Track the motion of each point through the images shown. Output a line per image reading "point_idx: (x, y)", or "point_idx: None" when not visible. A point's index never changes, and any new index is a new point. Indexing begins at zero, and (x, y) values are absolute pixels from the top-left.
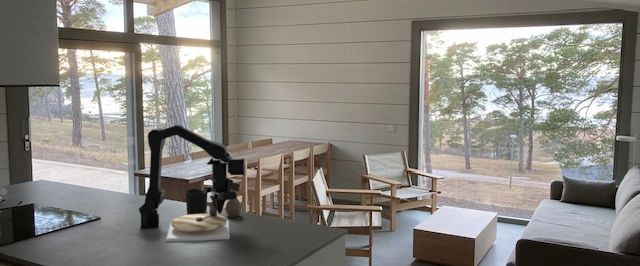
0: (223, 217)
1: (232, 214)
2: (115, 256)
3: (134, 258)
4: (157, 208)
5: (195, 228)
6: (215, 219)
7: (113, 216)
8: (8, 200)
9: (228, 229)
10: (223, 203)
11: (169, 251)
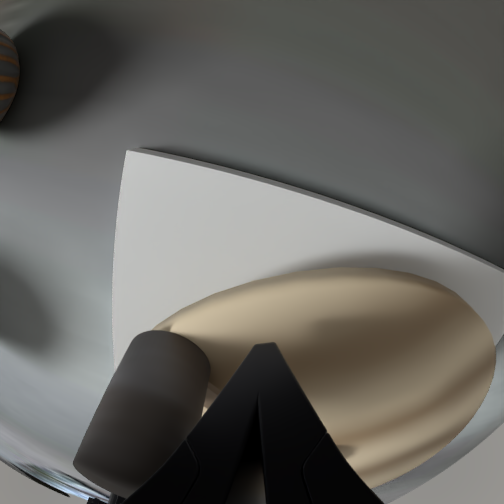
0: (339, 302)
1: (9, 94)
2: (384, 499)
3: (423, 480)
4: (99, 501)
5: (435, 452)
6: (364, 382)
7: (50, 460)
8: (8, 465)
9: (453, 255)
10: (355, 485)
11: (447, 448)
